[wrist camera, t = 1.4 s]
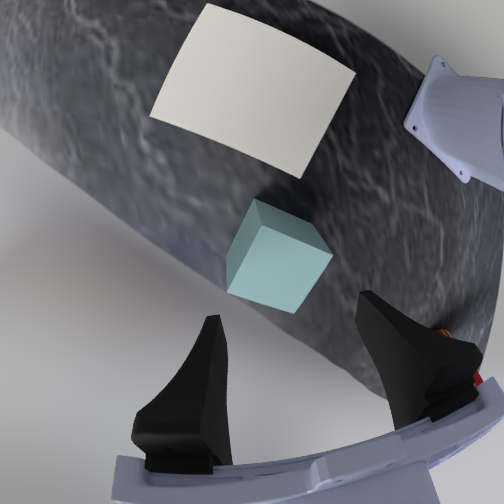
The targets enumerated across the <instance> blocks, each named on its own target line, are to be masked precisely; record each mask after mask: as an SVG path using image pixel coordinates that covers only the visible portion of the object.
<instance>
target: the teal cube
mask: <svg viewBox="0 0 504 504" xmlns="http://www.w3.org/2000/svg"><path fill="white" fill-rule="evenodd" d="M332 257H333V254H332V253H331V251H330V250H329V248H328V247H327V245H326V244H325V242H324V241H323V239H322V238H321V236H320V235H319V233H318V232H317V230H316V229H315V227H314V226H313V224H311V223H309V222H306V221H304V220H302V219H300V218H298V217H295V216H293V215H291V214H289V213H287V212H284V211H282V210H280V209H278V208H275V207H273V206H271V205H268V204H266V203H264V202H262V201H259V200H257V199H255V198H254V200H253V202H252V204H251V206H250V208H249V210H248V212H247V214H246V216H245V218H244V220H243V222H242V224H241V226H240V228H239V230H238V232H237V234H236V236H235V238H234V240H233V242H232V244H231V246H230V249H229V251H228V253H227V293H230V294H233V295H236V296H239V297H242V298H245V299H249V300H252V301H255V302H258V303H261V304H264V305H267V306H271V307H274V308H277V309H280V310H283V311H287V312H290V313H293V314H294V313H295V312H296V310H297V309H298V307H299V306H300V305H301V303H302V302H303V300H304V299H305V297H306V296H307V294H308V293H309V291H310V290H311V289H312V287H313V286H314V284H315V283H316V281H317V280H318V278H319V277H320V275H321V274H322V272H323V270H324V269H325V267H326V266H327V264H328V263H329V261H330V260H331V258H332Z"/></svg>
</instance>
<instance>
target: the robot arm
mask: <svg viewBox="0 0 504 504" xmlns="http://www.w3.org/2000/svg"><path fill="white" fill-rule="evenodd" d="M442 64H443V66H442ZM413 126H415V130H413ZM404 127H405V128H406V129H407V130H408V131H409V132H410V133H411V134H413V135H414V136H415V137H416V138H417V139H418V140H419V141H421V142H422V143H423V144H424V145H425V146H426V147H427V148H428V149H430V150H431V151H432V152H433V153H434V154H435V155H436V156H437V157H438V158H439V159H440V160H441V161H442V162H443V163H444V164H445V165H446V166H447V167H448V168H449V169H450V170H451V171H452V172H453V173H454V174H455V175H456V176H457V177H458V178H459V179H460V180H461V181H462V182H464V183H467V182H468V181H469V179H470V177H471V176H472V177H475V178H477V179H479V180H481V181H483V182H485V183H487V184H489V185H491V186H493V187H495V188H497V189H499V190H501V191H503V192H504V79H497V78H486V77H469V76H459V75H458V74H457V73H456V72H455V71H454V70H453V69H452V68H451V67H450V66H449V65H448V64H447V62H446V61H444V59H442V57H440V56H438V55H437V56H434V57H433V59H432V62H431V64H430V66H429V69H428V71H427V73H426V75H425V78H424V80H423V82H422V84H421V87H420V89H419V91H418V93H417V95H416V97H415V100H414V102H413V104H412V106H411V108H410V110H409V112H408V114H407V116H406V118H405V120H404ZM460 171H461V172H460ZM355 322H356V325H357V328H358V331H359V333H360V336H361V338H362V340H363V342H364V344H365V346H366V348H367V350H368V352H369V354H370V356H371V358H372V360H373V361H374V363H375V365H376V367H377V370H378V372H379V374H380V377H381V380H382V383H383V386H384V389H385V392H386V395H387V398H388V402H389V406H390V409H391V414H392V418H393V422H394V427H395V431H392V432H390V433H387V434H384V435H381V436H378V437H376V438H372V439H369V440H366V441H363V442H360V443H356V444H353V445H349V446H346V447H342V448H338V449H334V450H330V451H326V452H322V453H317V454H313V455H308V456H302V457H297V458H291V459H285V460H279V461H271V462H263V463H254V464H243V465H233V462H232V455H231V447H230V438H229V428H228V416H227V403H226V402H227V398H226V396H227V372H228V353H227V341H226V338H225V334H224V331H223V326H222V322H221V318H220V315H212V316H207V317H206V319H205V322H204V324H203V327H202V329H201V331H200V334H199V336H198V338H197V340H196V342H195V344H194V346H193V348H192V350H191V351H190V353H189V355H188V357H187V358H186V360H185V362H184V363H183V365H182V366H181V368H180V369H179V370H178V372H177V373H176V375H175V376H174V377H173V378H172V380H171V381H170V382H169V383H168V384H167V386H166V387H165V388H164V389H163V390H162V391H161V392H160V393H159V394H158V395H157V396H156V397H155V398H154V399H153V400H152V401H151V402H150V403H148V404H147V405H146V406H145V407H143V408H142V409H141V410H140V411H138V412H137V414H136V417H135V420H134V423H133V429H132V435H131V440H132V441H133V443H134V444H135V445H136V446H137V447H139V448H140V449H141V450H142V451H143V452H144V453H145V454H146V459H145V460H144V459H141V458H137V457H128V456H120V455H118V456H117V459H116V466H115V472H114V479H113V486H112V494H111V499H112V500H113V501H115V502H117V503H119V504H440V502H439V499H438V496H437V493H436V490H435V487H434V485H433V482H432V479H431V476H430V474H429V471H428V470H429V469H431V468H433V467H435V466H437V465H438V464H440V463H442V462H444V461H445V460H447V459H449V458H450V457H452V456H454V455H455V454H457V453H459V452H460V451H462V450H463V449H465V448H466V447H468V446H469V445H471V444H472V443H474V442H475V441H477V440H478V439H480V438H481V437H482V436H484V435H485V434H487V433H488V432H490V431H491V430H492V429H493V428H494V427H495V426H496V425H497V424H498V423H499V422H500V421H501V420H502V419H503V418H504V393H503V391H502V389H501V388H500V386H499V385H498V383H497V381H496V380H495V378H494V377H491V378H489V379H488V380H486V381H485V382H483V383H481V384H480V385H478V386H477V387H475V386H474V383H475V379H474V378H473V375H474V374H475V372H476V371H477V369H478V368H479V366H480V364H481V362H482V359H483V354H482V353H481V351H480V350H479V349H478V347H477V346H476V345H475V344H474V343H470V342H466V341H461V340H457V339H454V338H451V337H448V336H445V335H442V334H440V333H438V332H435V331H433V330H431V329H428V328H426V327H425V326H423V325H421V324H419V323H417V322H415V321H414V320H412V319H410V318H409V317H407V316H406V315H404V314H402V313H401V312H400V311H398V310H397V309H395V308H394V307H392V306H391V305H390V304H388V303H387V302H386V301H384V300H383V299H382V298H380V297H379V296H377V295H376V294H375V293H373V292H372V291H370V290H367V291H362V292H359V297H358V305H357V312H356V318H355Z"/></svg>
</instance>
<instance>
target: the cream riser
mask: <svg viewBox="0 0 504 504" xmlns="http://www.w3.org/2000/svg"><path fill="white" fill-rule="evenodd" d="M355 74H356V73H355V72H353V71H352V70H350V69H349V68H347V67H346V66H344V65H343V64H341V63H339V62H338V61H336V60H334V59H333V58H331V57H329V56H328V55H326V54H324V53H322V52H321V51H319V50H317V49H315V48H313V47H312V46H310V45H308V44H306V43H304V42H302V41H300V40H298V39H296V38H294V37H292V36H290V35H288V34H286V33H284V32H282V31H280V30H277V29H275V28H273V27H271V26H268V25H266V24H264V23H261V22H259V21H257V20H254V19H252V18H249V17H246V16H244V15H241V14H238V13H236V12H233V11H230V10H227V9H224V8H221V7H218V6H215V5H211V4H208V3H207V5H206V6H205V8H204V9H203V11H202V13H201V14H200V16H199V18H198V19H197V21H196V23H195V24H194V26H193V28H192V29H191V31H190V33H189V35H188V37H187V38H186V40H185V42H184V44H183V46H182V48H181V49H180V51H179V53H178V55H177V57H176V59H175V61H174V63H173V65H172V67H171V69H170V71H169V73H168V75H167V78H166V80H165V82H164V84H163V86H162V88H161V91H160V93H159V95H158V97H157V100H156V102H155V104H154V107H153V109H152V112H151V114H150V117H153V118H156V119H159V120H162V121H165V122H168V123H170V124H173V125H176V126H179V127H181V128H184V129H187V130H189V131H192V132H195V133H197V134H200V135H202V136H205V137H207V138H210V139H212V140H215V141H217V142H220V143H222V144H225V145H227V146H229V147H232V148H234V149H236V150H239V151H241V152H243V153H246V154H248V155H250V156H252V157H255V158H257V159H259V160H261V161H264V162H266V163H268V164H270V165H272V166H274V167H276V168H279V169H281V170H283V171H285V172H287V173H289V174H291V175H293V176H295V177H297V178H299V179H300V178H301V176H302V174H303V172H304V171H305V169H306V167H307V165H308V163H309V161H310V159H311V157H312V156H313V154H314V152H315V150H316V148H317V146H318V144H319V142H320V141H321V139H322V137H323V135H324V133H325V131H326V129H327V127H328V125H329V124H330V122H331V120H332V118H333V116H334V114H335V112H336V110H337V108H338V106H339V105H340V103H341V101H342V99H343V97H344V95H345V93H346V91H347V89H348V87H349V86H350V84H351V82H352V80H353V78H354V76H355Z"/></svg>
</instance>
